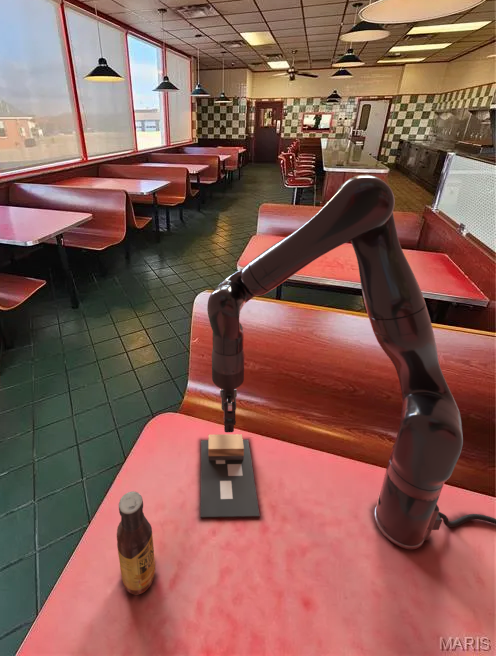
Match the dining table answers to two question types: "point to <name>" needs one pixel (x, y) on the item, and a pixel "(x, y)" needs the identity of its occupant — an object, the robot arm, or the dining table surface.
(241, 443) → the eraser
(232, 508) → the slate board
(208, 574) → the dining table surface
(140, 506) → the sauce bottle
